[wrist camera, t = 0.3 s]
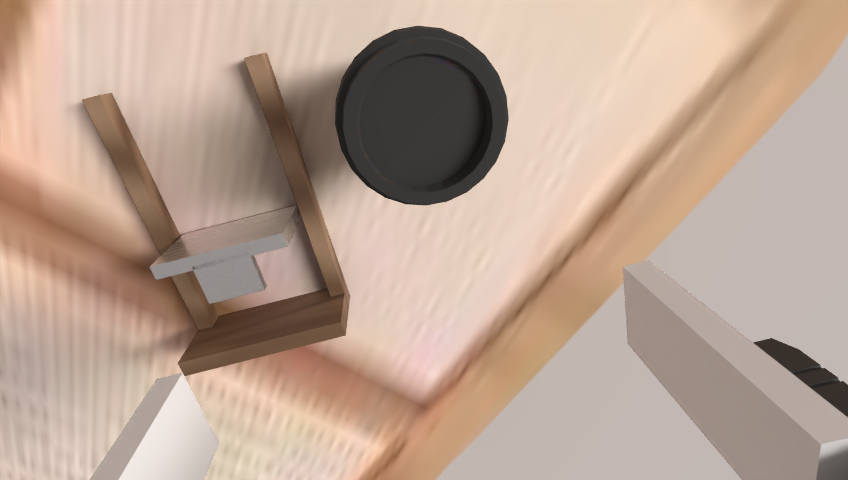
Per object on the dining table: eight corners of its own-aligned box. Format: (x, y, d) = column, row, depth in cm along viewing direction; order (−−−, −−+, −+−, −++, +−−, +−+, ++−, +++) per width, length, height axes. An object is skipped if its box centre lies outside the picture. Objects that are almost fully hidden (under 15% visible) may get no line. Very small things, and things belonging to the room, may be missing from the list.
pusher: (183, 234, 37) (149, 266, 32) (296, 205, 37) (282, 233, 32) (202, 274, 39) (173, 313, 33) (311, 246, 38) (300, 280, 33)
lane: (95, 97, 33) (38, 107, 27) (266, 53, 33) (244, 54, 27) (210, 331, 41) (184, 376, 35) (350, 296, 41) (345, 335, 35)
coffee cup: (485, 90, 35) (555, 120, 21) (410, 172, 37) (429, 248, 23) (402, 5, 33) (420, -25, 19) (325, 98, 34) (291, 133, 21)
